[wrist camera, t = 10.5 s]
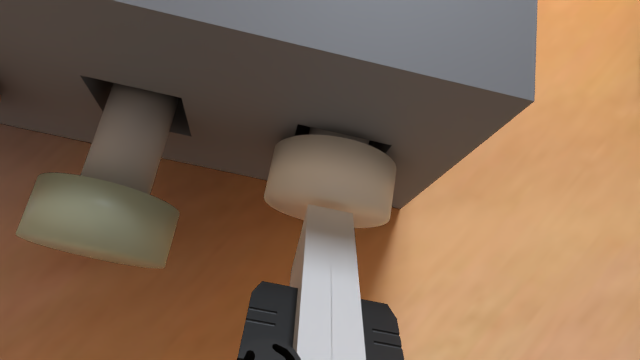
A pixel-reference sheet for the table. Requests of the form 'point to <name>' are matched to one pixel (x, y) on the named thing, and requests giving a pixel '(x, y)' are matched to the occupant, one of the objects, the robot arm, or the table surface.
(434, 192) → the table surface
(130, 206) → the sage button
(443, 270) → the table surface
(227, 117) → the control box
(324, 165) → the ivory button
